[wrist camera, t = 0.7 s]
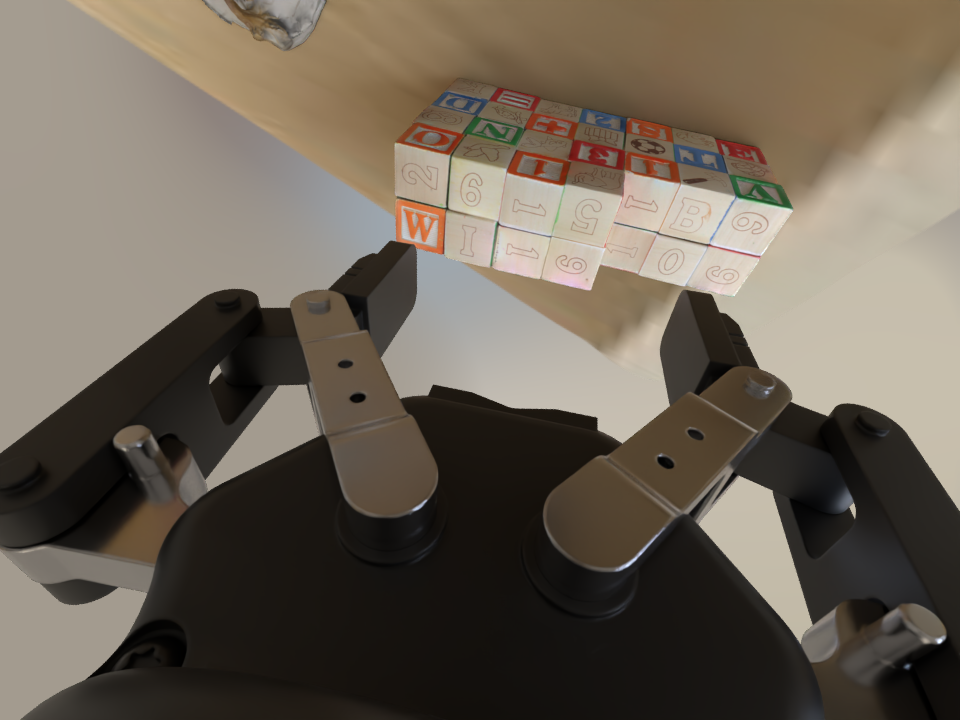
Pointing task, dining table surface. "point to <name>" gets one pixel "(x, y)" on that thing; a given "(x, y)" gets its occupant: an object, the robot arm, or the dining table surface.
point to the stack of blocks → (581, 192)
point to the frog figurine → (272, 18)
